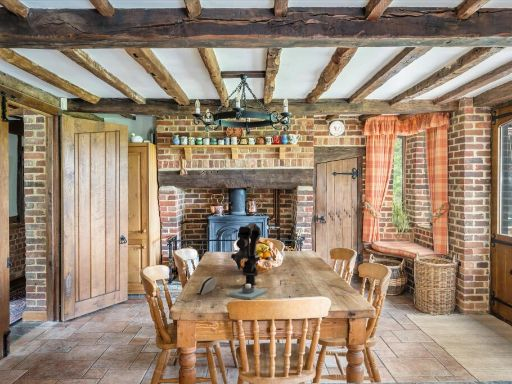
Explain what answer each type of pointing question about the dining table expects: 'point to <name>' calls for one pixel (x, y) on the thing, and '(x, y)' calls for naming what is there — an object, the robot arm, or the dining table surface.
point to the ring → (247, 290)
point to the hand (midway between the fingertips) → (245, 270)
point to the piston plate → (247, 296)
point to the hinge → (207, 285)
